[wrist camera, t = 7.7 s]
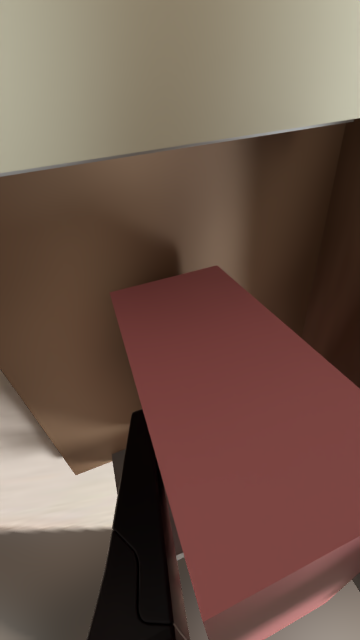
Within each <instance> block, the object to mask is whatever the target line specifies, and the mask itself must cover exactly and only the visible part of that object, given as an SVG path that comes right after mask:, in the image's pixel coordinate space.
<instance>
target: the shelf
mask: <svg viewBox="0 0 360 640" xmlns="http://www.w3.org/2000/svg"><path fill="white" fill-rule="evenodd" d="M216 265H217V266H219V267H220V268H221V269H222V270H223V271H224V272H225V273H227V274H228V275H229V276H230V277H231V278H232V279H234V280H235V281H236V282H237V283H238V284H239V285H240V286H242V287H243V288H244V289H245V290H246V291H247V292H249V293H250V294H251V295H252V296H253V297H254V298H256V299H257V300H258V301H259V302H260V303H261V304H262V305H264V306H265V307H266V308H267V309H268V310H269V311H271V312H272V313H273V314H274V315H275V316H276V317H277V318H279V319H280V320H281V321H282V322H283V323H284V324H286V325H287V326H288V327H289V328H290V329H291V330H292V331H294V332H295V333H296V334H297V335H298V336H299V337H301V338H302V339H303V340H304V341H305V342H306V343H308V344H309V345H310V346H311V347H312V348H313V349H314V350H316V351H317V352H318V353H319V354H320V355H321V356H323V357H324V358H325V359H326V360H327V361H328V362H329V363H331V364H332V365H333V366H334V367H335V368H336V369H338V370H339V371H340V372H341V373H342V374H343V375H344V376H346V377H347V378H348V379H349V380H350V381H351V382H353V383H354V384H355V385H356V386H357V387H358V388H360V0H0V369H1V371H2V372H3V373H4V375H5V376H6V378H7V379H8V381H9V382H10V383H11V385H12V386H13V388H14V389H15V390H16V392H17V393H18V395H19V396H20V397H21V399H22V400H23V402H24V403H25V404H26V406H27V407H28V409H29V410H30V411H31V413H32V414H33V416H34V417H35V419H36V420H37V421H38V423H39V424H40V426H41V427H42V428H43V430H44V431H45V433H46V434H47V435H48V437H49V438H50V440H51V441H52V442H53V444H54V445H55V447H56V448H57V450H58V451H59V452H60V454H61V455H62V457H63V458H64V459H65V461H66V462H67V464H68V465H69V466H70V468H71V469H72V471H73V472H74V473H75V475H78V474H80V473H83V472H85V471H88V470H90V469H93V468H96V467H98V466H101V465H103V464H106V463H109V462H111V461H113V467H114V474H115V481H116V487H117V494H118V491H119V485H120V479H121V473H122V467H123V461H124V455H125V449H126V444H127V438H128V432H129V426H130V420H131V415H132V413H133V412H135V411H137V410H140V409H142V405H141V402H140V398H139V395H138V391H137V388H136V384H135V381H134V377H133V374H132V370H131V367H130V363H129V360H128V356H127V353H126V349H125V346H124V342H123V339H122V335H121V332H120V328H119V324H118V321H117V317H116V314H115V310H114V307H113V303H112V300H111V296H110V293H109V292H113V291H117V290H121V289H125V288H129V287H133V286H137V285H141V284H145V283H149V282H153V281H157V280H161V279H165V278H169V277H173V276H177V275H181V274H185V273H189V272H192V271H196V270H200V269H204V268H208V267H212V266H216ZM165 492H166V490H165ZM166 498H167V504H168V510H169V516H170V522H171V528H172V534H173V540H174V546H175V552H176V558H177V560H179V559H181V558H183V557H184V553H183V550H182V546H181V543H180V539H179V536H178V532H177V529H176V525H175V522H174V518H173V515H172V511H171V508H170V504H169V501H168V497H167V493H166Z"/></svg>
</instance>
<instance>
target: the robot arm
mask: <svg viewBox="0 0 360 640" xmlns="http://www.w3.org/2000/svg"><path fill="white" fill-rule="evenodd" d="M112 529H113V530H112V532H111V537H110V543H109V548H108V554H107V559H106V564H105V569H104V574H103V578H102V582H101V586H100V590H99V595H98V598H97V602H96V606H95V610H94V614H93V617H92V621H91V625H90V629H89V632H88V636H87V640H190V636H189V630H188V624H187V618H186V612H185V607H184V600H183V594H182V588H181V582H180V576H179V570H178V565H177V558H176V552H175V546H174V540H173V534H172V528H171V522H170V516H169V510H168V504H167V498H166V492H165V486H164V483H163V479H162V476H161V472H160V469H159V465H158V462H157V458H156V455H155V451H154V448H153V444H152V441H151V437H150V434H149V430H148V427H147V423H146V420H145V416H144V412H143V409H140V410H137V411H135V412H133V413H132V415H131V420H130V426H129V432H128V438H127V444H126V449H125V455H124V461H123V467H122V473H121V479H120V485H119V491H118V496H117V502H116V508H115V514H114V520H113V526H112ZM352 580H353V582H354V583H355V585H356V586H357V588H358V590H359V591H360V573H358V574H357V575H356V576H355V577H354V578H353V579H352Z"/></svg>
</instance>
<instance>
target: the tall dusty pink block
mask: <svg viewBox="0 0 360 640" xmlns="http://www.w3.org/2000/svg"><path fill="white" fill-rule="evenodd" d="M109 293H110V296H111V300H112V303H113V307H114V310H115V314H116V317H117V321H118V324H119V328H120V332H121V335H122V339H123V342H124V346H125V349H126V353H127V356H128V360H129V363H130V367H131V370H132V374H133V377H134V381H135V384H136V388H137V391H138V395H139V398H140V402H141V405H142V409H143V412H144V416H145V420H146V423H147V427H148V430H149V434H150V437H151V441H152V444H153V448H154V451H155V455H156V458H157V462H158V465H159V469H160V472H161V476H162V479H163V483H164V486H165V490H166V493H167V497H168V501H169V504H170V508H171V511H172V515H173V518H174V522H175V525H176V529H177V532H178V536H179V539H180V543H181V546H182V550H183V553H184V557H185V560H186V564H187V567H188V571H189V574H190V578H191V581H192V585H193V588H194V592H195V595H196V599H197V603H198V606H199V610H200V613H201V617H202V620H203V623H204V626H205V630H206V633H207V636H208V639H209V640H264V639H266V638H267V637H269V636H271V635H272V634H274V633H276V632H277V631H279V630H281V629H282V628H284V627H286V626H288V625H289V624H291V623H293V622H294V621H296V620H298V619H299V618H301V617H303V616H305V615H306V614H308V613H310V612H311V611H313V610H315V609H316V608H318V607H320V606H321V605H323V604H325V603H326V602H327V601H328V600H329V599H331V598H332V597H333V596H334V595H335V594H336V593H337V592H338V591H339V590H340V589H342V588H343V587H344V586H345V585H346V584H347V583H348V582H350V580H352V579H353V578H354V577H355V576H356V575H357V574H358V573H360V388H358V387H357V386H356V385H355V384H354V383H353V382H351V381H350V380H349V379H348V378H347V377H346V376H344V375H343V374H342V373H341V372H340V371H339V370H338V369H336V368H335V367H334V366H333V365H332V364H331V363H329V362H328V361H327V360H326V359H325V358H324V357H323V356H321V355H320V354H319V353H318V352H317V351H316V350H314V349H313V348H312V347H311V346H310V345H309V344H308V343H306V342H305V341H304V340H303V339H302V338H301V337H299V336H298V335H297V334H296V333H295V332H294V331H292V330H291V329H290V328H289V327H288V326H287V325H286V324H284V323H283V322H282V321H281V320H280V319H279V318H277V317H276V316H275V315H274V314H273V313H272V312H271V311H269V310H268V309H267V308H266V307H265V306H264V305H262V304H261V303H260V302H259V301H258V300H257V299H256V298H254V297H253V296H252V295H251V294H250V293H249V292H247V291H246V290H245V289H244V288H243V287H242V286H240V285H239V284H238V283H237V282H236V281H235V280H234V279H232V278H231V277H230V276H229V275H228V274H227V273H225V272H224V271H223V270H222V269H221V268H220V267H219V266H217V265H216V266H212V267H208V268H204V269H200V270H196V271H192V272H189V273H185V274H181V275H177V276H173V277H169V278H165V279H161V280H157V281H153V282H149V283H145V284H141V285H137V286H133V287H129V288H125V289H121V290H117V291H113V292H109Z"/></svg>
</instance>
